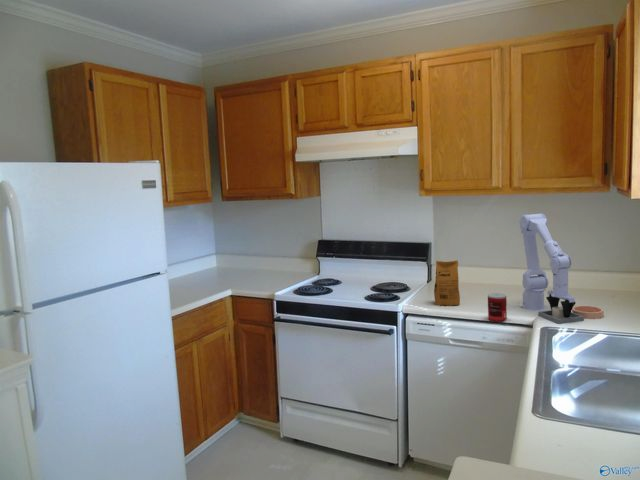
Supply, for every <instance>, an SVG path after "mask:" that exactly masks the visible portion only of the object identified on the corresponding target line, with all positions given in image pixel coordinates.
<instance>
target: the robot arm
mask: <svg viewBox="0 0 640 480" xmlns="http://www.w3.org/2000/svg"><path fill="white" fill-rule="evenodd" d="M547 224H548V219H547V217H546V215H545V214H544V213H533V214H522V215H521V217H520V219H519V226H520V227H519V228H520V233H521V234H522V239H523V245H524V252H525V259H526V266H527V269H526V271H524V272H523V274H522V286H523V288H524V290H523V291H522V305H521V306H520V307H521V308H523V309H527V310H530V311H531V312H532V311H533V312H536V311H547V310H548V308H547V307H545V291H546V289H547V288H548V286H549V280H548V277H547V274H546V272H545V271H544V270H543V269H542V268H541V266H540V259H539V251H538V246H537V245H538V244H537V238H536V235H537V234H538V236H539V237H540V239H541V240H542V242H543V243H544V246H543V249H544V250H545V252H546V254H547V256H548V258H549V260H550V261H549V266H550V268H551V273H552V289H551V290H547V296H546V300H547V303H549V306H550V310H552V307H559V303H560V304H561V306H562V307H563V315H564V318H569V317H570V314H571V312H572V308H573V307H575V306H576V301H575V300H576V299H575V297H574V296H572V295H570V294H569V269H570V268H571V267H572V259H571V257H570V255H568V254H567V253H565V252H564V251H563V250H562V248H561V246H560V245H559V243H558V241H556V240H553V238H552V235H551V232H550V230H549V229H548V226H547ZM560 300H561V301H560Z"/></svg>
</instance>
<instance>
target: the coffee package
mask: <svg viewBox="0 0 640 480" xmlns="http://www.w3.org/2000/svg"><path fill="white" fill-rule="evenodd" d="M458 267H459V260H450V261H442V260H436V261H435V283H434V289H433V293H434V296H433V297H434V304H435V305H436V306H437V305H440V306H446V305H448V306H447V307H452V306H451V305H454V306H460V303H461V295H460V290H459V268H458ZM449 305H450V306H449Z"/></svg>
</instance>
